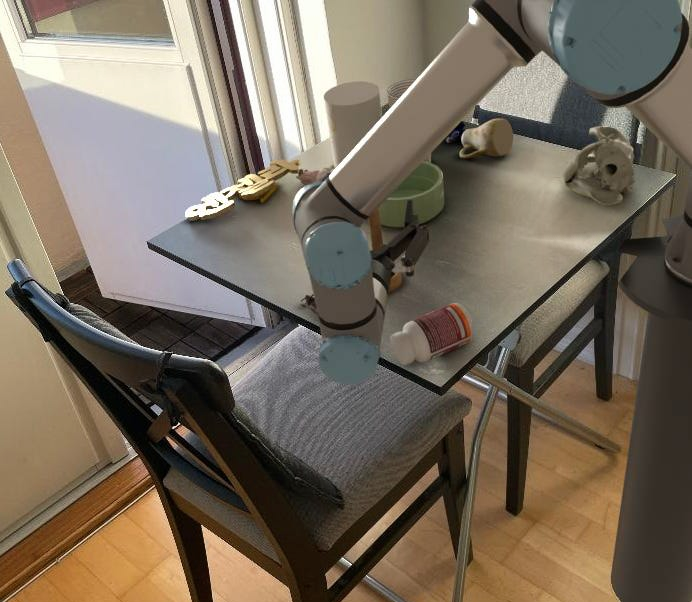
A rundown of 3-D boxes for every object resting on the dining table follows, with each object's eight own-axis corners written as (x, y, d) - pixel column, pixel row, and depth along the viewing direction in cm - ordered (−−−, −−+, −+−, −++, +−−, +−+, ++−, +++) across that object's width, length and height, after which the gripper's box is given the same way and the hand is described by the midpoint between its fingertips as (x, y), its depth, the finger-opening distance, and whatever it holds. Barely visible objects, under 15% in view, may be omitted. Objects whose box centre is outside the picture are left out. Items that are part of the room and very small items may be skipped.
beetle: (322, 299, 131) (321, 282, 129) (342, 318, 126) (341, 300, 124) (300, 305, 130) (299, 288, 128) (319, 325, 125) (318, 307, 123)
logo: (279, 186, 161) (245, 182, 164) (278, 182, 160) (244, 178, 164) (262, 202, 157) (228, 198, 160) (262, 199, 156) (227, 195, 159)
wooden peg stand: (409, 276, 132) (397, 163, 119) (387, 297, 128) (373, 184, 115) (376, 266, 135) (362, 156, 122) (355, 287, 132) (337, 176, 118)
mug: (468, 139, 165) (493, 99, 158) (501, 171, 162) (528, 131, 155) (447, 146, 160) (471, 104, 153) (480, 178, 158) (506, 138, 150)
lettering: (198, 227, 151) (196, 223, 150) (180, 214, 158) (178, 210, 158) (309, 167, 157) (308, 163, 157) (286, 157, 165) (285, 153, 165)
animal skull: (566, 187, 154) (547, 124, 149) (632, 165, 151) (616, 99, 145) (574, 222, 139) (554, 153, 134) (649, 198, 135) (631, 126, 130)
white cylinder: (343, 155, 167) (332, 82, 157) (392, 155, 164) (385, 81, 154) (329, 180, 160) (316, 105, 150) (380, 181, 157) (371, 105, 147)
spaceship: (474, 144, 162) (456, 158, 165) (478, 129, 166) (460, 143, 169) (449, 118, 159) (431, 133, 162) (454, 103, 163) (436, 118, 167)
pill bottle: (452, 293, 116) (386, 321, 113) (477, 318, 112) (409, 347, 109) (451, 324, 121) (387, 351, 118) (474, 349, 117) (409, 378, 114)
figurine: (324, 164, 162) (370, 170, 150) (320, 197, 163) (365, 205, 152) (284, 158, 156) (328, 164, 145) (280, 192, 158) (323, 201, 146)
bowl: (458, 197, 148) (457, 167, 145) (417, 236, 140) (414, 206, 137) (393, 182, 156) (390, 154, 152) (350, 219, 148) (346, 190, 144)
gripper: (287, 317, 116) (312, 232, 132) (443, 313, 112) (450, 226, 128) (277, 274, 111) (304, 191, 127) (440, 268, 107) (447, 184, 123)
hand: (377, 209), depth 128 cm, fingers open, 10 cm apart
